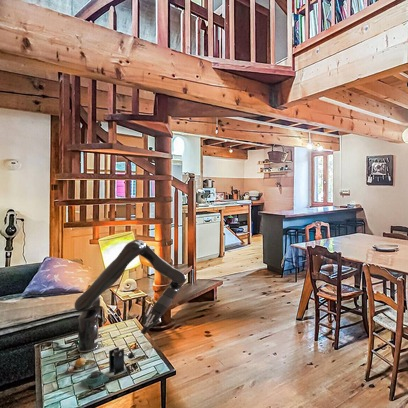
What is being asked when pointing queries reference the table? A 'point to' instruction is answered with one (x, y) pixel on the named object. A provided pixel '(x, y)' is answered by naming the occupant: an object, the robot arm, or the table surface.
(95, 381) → the button box
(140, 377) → the table surface
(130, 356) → the lever
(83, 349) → the robot arm
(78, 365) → the burger
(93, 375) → the button
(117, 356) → the bracket
